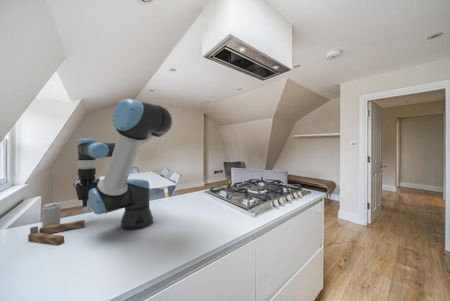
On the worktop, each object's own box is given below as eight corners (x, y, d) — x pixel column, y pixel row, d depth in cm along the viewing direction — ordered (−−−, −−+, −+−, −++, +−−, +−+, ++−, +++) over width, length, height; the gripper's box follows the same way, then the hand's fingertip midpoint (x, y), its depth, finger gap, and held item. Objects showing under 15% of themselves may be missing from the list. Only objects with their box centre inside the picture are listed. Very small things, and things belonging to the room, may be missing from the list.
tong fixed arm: (69, 240, 78) (69, 230, 78) (58, 245, 74) (58, 234, 73) (35, 235, 81) (35, 226, 81) (23, 240, 77) (23, 230, 77)
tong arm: (84, 225, 92) (84, 219, 92) (84, 226, 90) (84, 221, 90) (40, 233, 83) (40, 227, 83) (39, 235, 81) (39, 229, 81)
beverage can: (49, 232, 85) (48, 206, 85) (38, 230, 86) (38, 205, 86) (63, 226, 91) (63, 202, 91) (53, 225, 93) (53, 201, 92)
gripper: (92, 166, 103) (92, 207, 103) (68, 169, 90) (68, 215, 90) (103, 166, 101) (103, 208, 102) (80, 169, 88) (80, 217, 89)
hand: (87, 211), depth 96 cm, fingers closed
